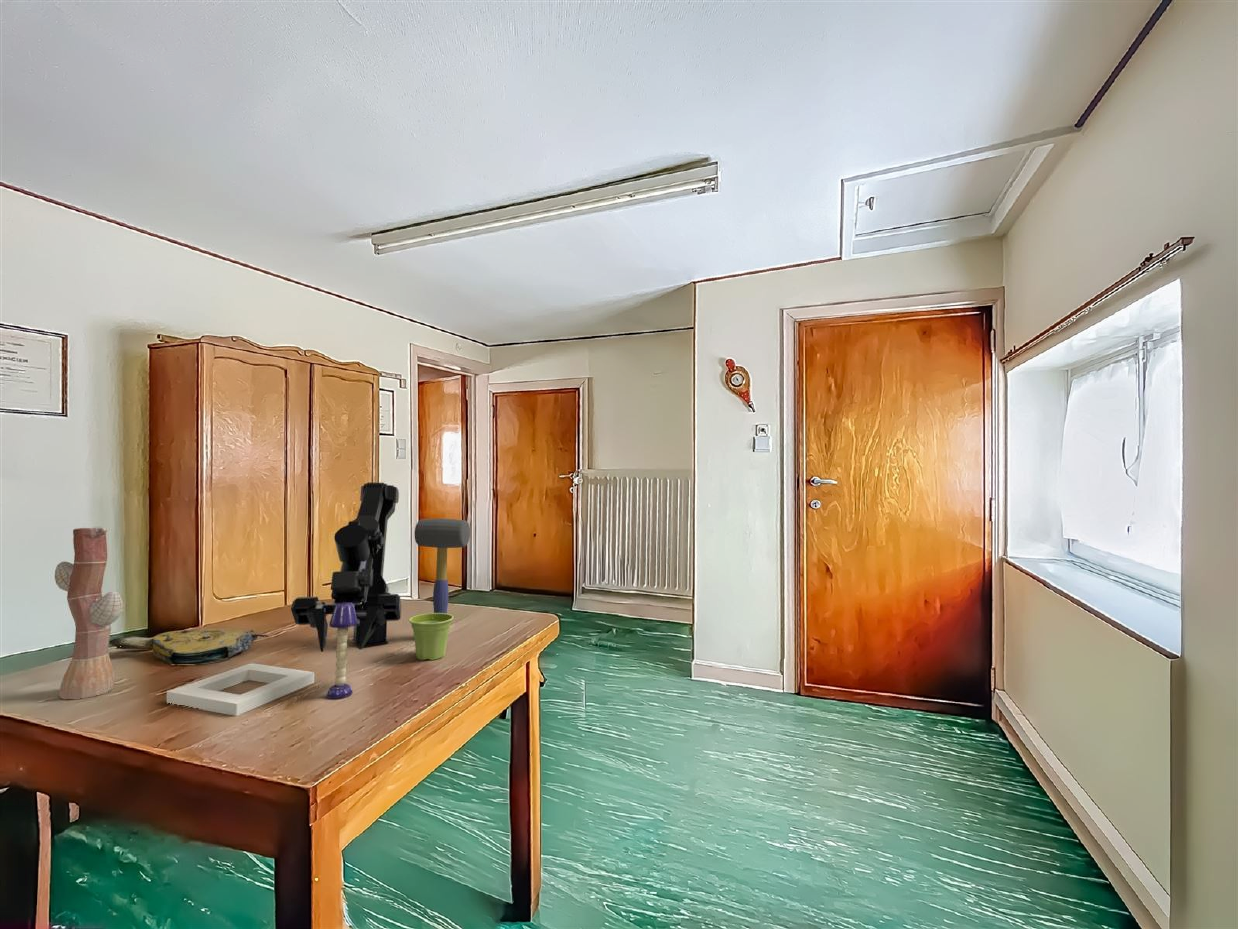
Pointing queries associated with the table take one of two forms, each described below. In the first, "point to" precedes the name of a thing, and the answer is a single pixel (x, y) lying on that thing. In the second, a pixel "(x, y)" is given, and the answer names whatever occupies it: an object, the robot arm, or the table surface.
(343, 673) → the toy lamp
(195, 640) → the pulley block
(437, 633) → the plant pot
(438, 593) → the rubber mallet
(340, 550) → the robot arm
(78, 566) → the vase
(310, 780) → the table surface
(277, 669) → the cutout frame
